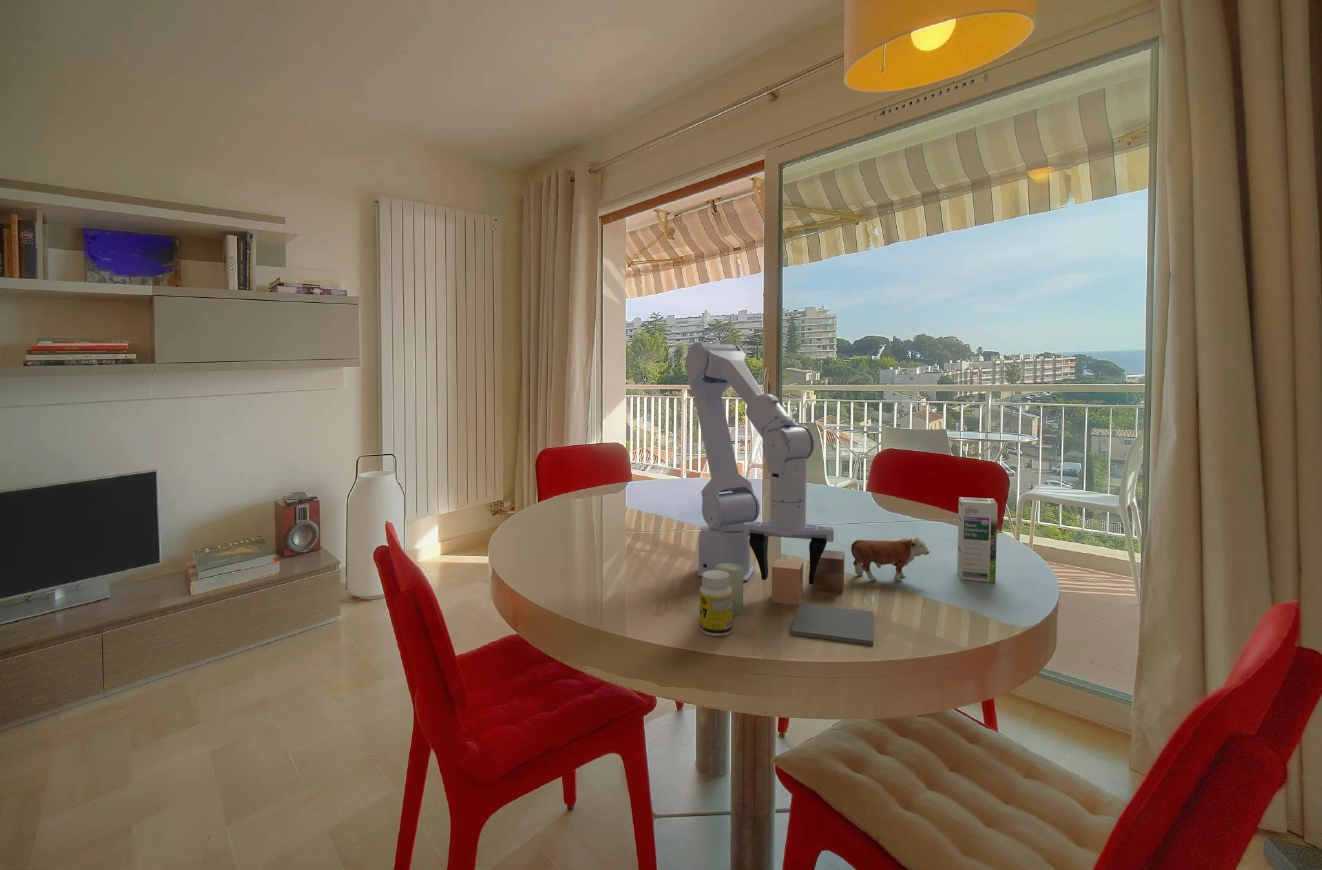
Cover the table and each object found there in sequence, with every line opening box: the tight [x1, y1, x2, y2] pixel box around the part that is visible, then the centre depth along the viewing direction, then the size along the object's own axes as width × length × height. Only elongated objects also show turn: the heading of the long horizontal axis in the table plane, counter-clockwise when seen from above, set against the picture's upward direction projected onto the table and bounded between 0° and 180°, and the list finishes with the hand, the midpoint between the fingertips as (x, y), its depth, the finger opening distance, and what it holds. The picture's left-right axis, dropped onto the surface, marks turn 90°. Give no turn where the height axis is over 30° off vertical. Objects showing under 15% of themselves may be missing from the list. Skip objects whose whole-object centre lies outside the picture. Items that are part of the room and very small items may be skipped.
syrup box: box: [956, 496, 999, 584], centre depth 107 cm, size 6×6×14 cm
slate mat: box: [790, 603, 874, 646], centre depth 86 cm, size 11×11×1 cm
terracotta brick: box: [771, 558, 804, 606], centre depth 97 cm, size 4×4×6 cm
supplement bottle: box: [699, 570, 734, 637], centre depth 85 cm, size 5×5×8 cm
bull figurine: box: [850, 536, 931, 582], centre depth 106 cm, size 4×13×8 cm, turn 78°
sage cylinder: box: [715, 563, 744, 617], centre depth 92 cm, size 4×4×7 cm
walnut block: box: [812, 549, 845, 595], centre depth 102 cm, size 5×5×6 cm
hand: (787, 580), depth 97 cm, fingers open, 7 cm apart
